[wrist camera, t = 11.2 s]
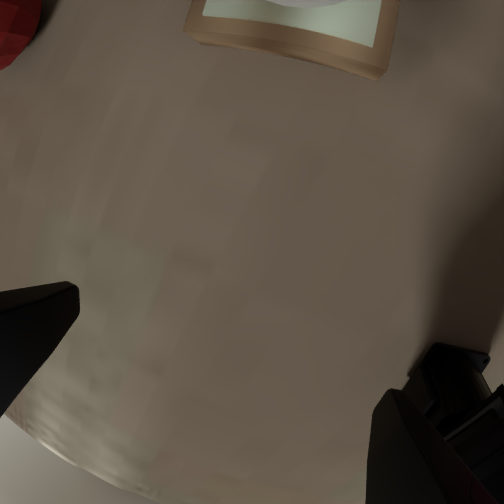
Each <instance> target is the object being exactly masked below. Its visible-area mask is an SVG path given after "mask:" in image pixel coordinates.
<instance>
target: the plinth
mask: <svg viewBox="0 0 504 504" xmlns="http://www.w3.org/2000/svg"><path fill="white" fill-rule="evenodd" d="M399 2H400V0H346V1H343V2H341V3H338V4H335V5H333V6H324V7H315V8H301V7H290V6H283V5H280V4H276V3H273V2H270V1H267V0H192V3H191V6H190V9H189V12H188V15H187V18H186V22H185V25H184V28H183V31H184V32H186V33H187V34H188V35H190V36H191V37H192V38H194V39H195V40H196V41H197V42H199V43H200V44H203V45H214V46H223V47H232V48H239V49H246V50H253V51H259V52H265V53H270V54H276V55H281V56H286V57H291V58H295V59H300V60H304V61H308V62H313V63H317V64H321V65H324V66H328V67H332V68H335V69H339V70H342V71H346V72H349V73H352V74H356V75H359V76H362V77H365V78H368V79H371V80H374V81H377V80H378V79H379V78H380V77H381V76H382V75H383V74H384V73H385V72H386V71H387V69H388V64H389V59H390V54H391V49H392V43H393V38H394V33H395V27H396V21H397V15H398V8H399Z"/></svg>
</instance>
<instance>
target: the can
mask: <svg viewBox="0 0 504 504" xmlns="http://www.w3.org/2000/svg"><path fill="white" fill-rule="evenodd" d="M267 1H270V2H273V3H276V4H280V5H283V6H290V7H301V8H315V7H324V6H333V5H335V4H338V3H341V2H343V1H346V0H267Z"/></svg>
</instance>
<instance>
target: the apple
mask: <svg viewBox="0 0 504 504" xmlns="http://www.w3.org/2000/svg"><path fill="white" fill-rule="evenodd" d="M41 6H42V2H41V0H0V70H2V69H4V68H5V67H7V66H9V65H10V64H11V63H12V62H13V61H14V60H15V59H16V57H17V56H18V55H19V54H20V53H21V52H22V51H23V50H24V48H25V47H26V46H27V45H28V44H29V43H30V41H31V40H32V38H33V37H34V35H35V33H36V30H37V27H38V24H39V20H40V14H41Z"/></svg>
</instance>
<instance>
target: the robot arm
mask: <svg viewBox="0 0 504 504" xmlns="http://www.w3.org/2000/svg"><path fill="white" fill-rule="evenodd" d="M79 313H80V299H79V288H78V287H77V286H76V285H75V284H72V283H70V282H68V281H63V282H57V283H51V284H45V285H39V286H33V287H27V288H20V289H14V290H8V291H2V292H0V418H1V416H2V415H3V414H4V412H5V411H6V410H7V408H8V407H9V406H10V404H11V403H12V402H13V401H14V399H15V398H16V397H17V395H18V394H19V393H20V392H21V390H22V389H23V388H24V387H25V385H26V384H27V383H28V382H29V380H30V379H31V378H32V377H33V376H34V374H35V373H36V372H37V371H38V369H39V368H40V367H41V366H42V365H43V363H44V362H45V361H46V360H47V359H48V358H49V356H50V355H51V354H52V353H53V351H54V350H55V348H56V347H57V346H58V344H59V343H60V341H61V340H62V338H63V337H64V336H65V334H66V333H67V331H68V330H69V328H70V327H71V326H72V324H73V323H74V322H75V320H76V319H77V317H78V315H79ZM438 348H439V349H438ZM436 349H438V350H437V351H435V350H436ZM489 361H490V356H489V355H488V354H487V353H482V352H477V351H473V350H468V349H464V348H459V347H455V346H451V345H446V344H442V343H435V344H434V345H433V346H432V347H431V349H430V350H429V352H428V354H427V355H426V357H425V359H424V360H423V362H422V363H421V365H420V366H419V367H418V369H417V370H416V372H415V373H414V375H413V376H412V378H411V379H410V381H409V382H408V384H407V385H406V387H405V389H404V391H402V390H398V389H393V388H391V389H388V390H387V391H386V392H385V394H384V395H383V397H382V398H381V400H380V401H379V403H378V404H377V405H376V407H375V409H374V411H373V414H372V423H371V432H370V441H369V449H368V458H367V480H366V503H365V504H504V385H503V383H502V384H501V385H500V386H499V387H498V388H496V389H497V390H496V391H495V392H493V393H492V392H491V390H490V388H489V386H488V384H487V383H486V381H485V379H484V377H483V375H482V372H483V371H484V369H485V368H486V366H487V365H488V363H489Z"/></svg>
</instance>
